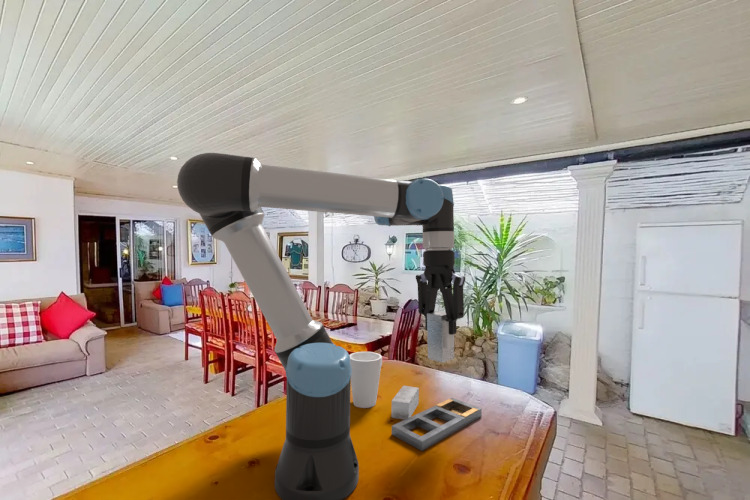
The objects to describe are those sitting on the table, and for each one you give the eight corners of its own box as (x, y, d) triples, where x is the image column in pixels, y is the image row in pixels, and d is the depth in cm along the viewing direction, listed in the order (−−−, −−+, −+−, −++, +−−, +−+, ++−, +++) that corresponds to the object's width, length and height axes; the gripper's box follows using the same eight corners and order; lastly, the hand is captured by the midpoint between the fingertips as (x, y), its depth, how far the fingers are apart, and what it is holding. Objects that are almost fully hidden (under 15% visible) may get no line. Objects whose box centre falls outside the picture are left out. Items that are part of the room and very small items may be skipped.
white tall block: (442, 362, 80) (441, 315, 80) (427, 358, 84) (426, 313, 84) (454, 358, 83) (453, 313, 83) (439, 354, 87) (438, 311, 87)
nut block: (408, 421, 86) (408, 403, 86) (391, 418, 88) (391, 400, 88) (418, 404, 96) (418, 387, 96) (403, 401, 98) (403, 385, 98)
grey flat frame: (422, 451, 73) (422, 440, 73) (391, 434, 79) (391, 425, 79) (481, 416, 89) (481, 407, 89) (452, 405, 95) (452, 397, 95)
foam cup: (382, 397, 100) (383, 352, 100) (380, 411, 91) (380, 362, 91) (350, 395, 101) (351, 351, 101) (344, 409, 92) (345, 360, 92)
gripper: (479, 248, 80) (481, 349, 79) (421, 250, 93) (423, 336, 93) (459, 248, 75) (462, 356, 74) (402, 250, 88) (404, 341, 88)
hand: (440, 345), depth 84 cm, fingers closed on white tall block, 4 cm apart
